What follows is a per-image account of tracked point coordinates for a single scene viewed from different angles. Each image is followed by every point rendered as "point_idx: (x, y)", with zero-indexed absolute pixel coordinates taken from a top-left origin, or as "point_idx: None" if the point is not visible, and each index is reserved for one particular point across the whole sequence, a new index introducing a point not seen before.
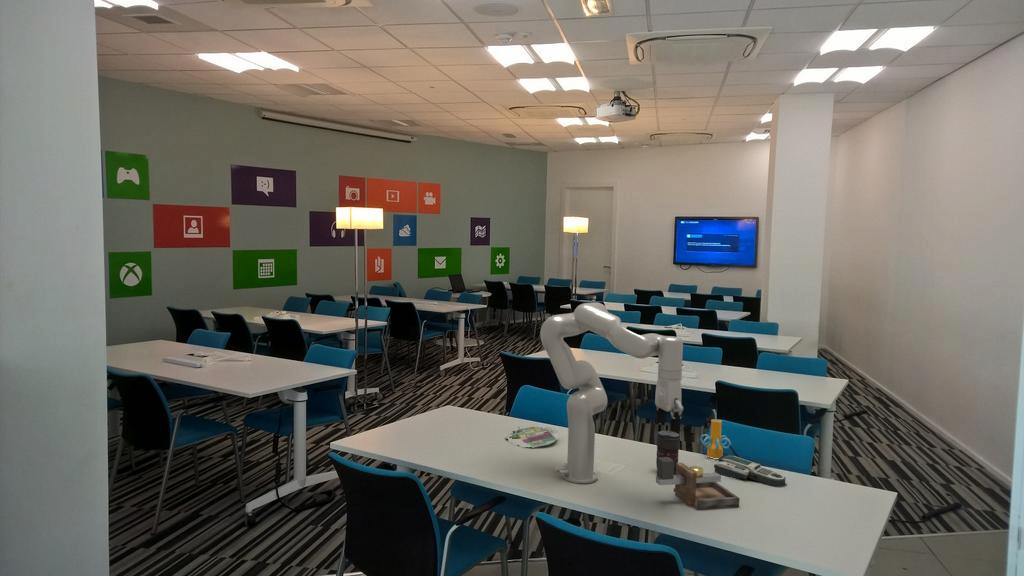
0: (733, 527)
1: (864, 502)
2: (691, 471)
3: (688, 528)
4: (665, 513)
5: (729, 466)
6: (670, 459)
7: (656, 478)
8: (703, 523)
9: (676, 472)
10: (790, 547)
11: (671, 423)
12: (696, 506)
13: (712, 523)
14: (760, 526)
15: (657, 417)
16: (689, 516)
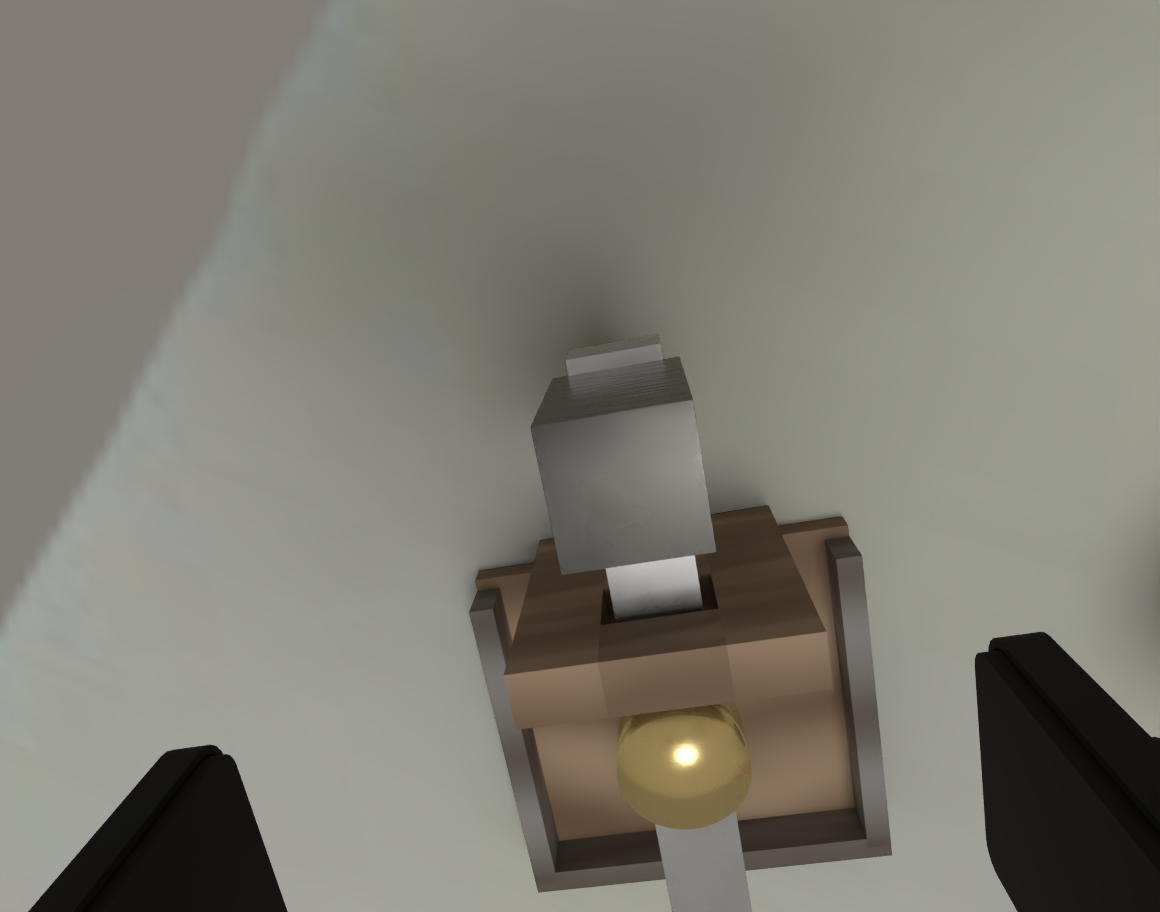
0: (229, 697)
1: None
2: (554, 695)
3: (167, 413)
4: (403, 324)
5: None
6: (621, 546)
7: (646, 342)
8: (262, 539)
9: (795, 586)
10: (25, 877)
11: (46, 902)
12: (484, 579)
13: (271, 595)
14: (267, 846)
15: (1073, 727)
16: (366, 484)
